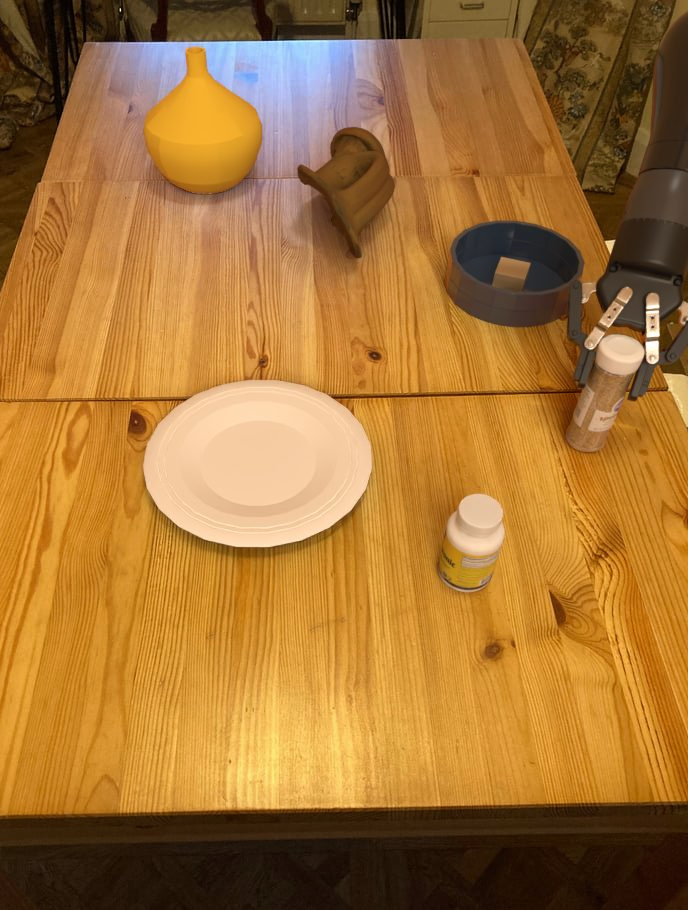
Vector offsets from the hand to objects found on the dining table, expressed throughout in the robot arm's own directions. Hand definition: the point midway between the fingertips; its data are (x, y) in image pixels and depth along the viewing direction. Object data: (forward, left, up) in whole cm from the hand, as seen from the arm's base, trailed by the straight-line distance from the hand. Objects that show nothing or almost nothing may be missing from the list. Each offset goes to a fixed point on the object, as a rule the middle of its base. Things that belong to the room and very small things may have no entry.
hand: (606, 393), depth 79 cm
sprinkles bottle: (-1, -2, -9) cm, 10 cm away
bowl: (+3, -31, -9) cm, 32 cm away
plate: (+36, +2, -9) cm, 38 cm away
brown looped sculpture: (+25, -48, -9) cm, 55 cm away
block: (+4, -29, -9) cm, 31 cm away
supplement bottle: (+15, +16, -9) cm, 24 cm away
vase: (+47, -61, -9) cm, 78 cm away
